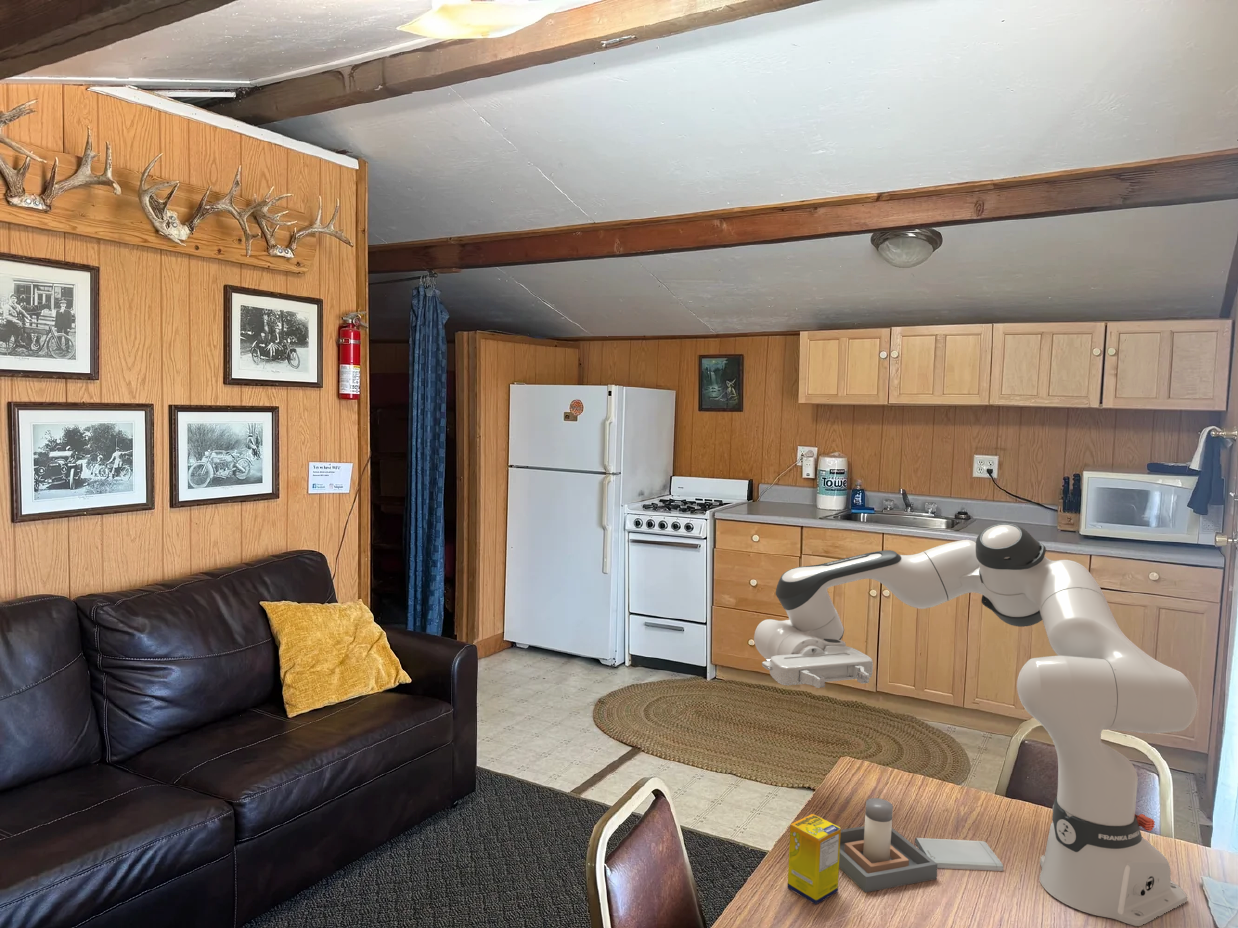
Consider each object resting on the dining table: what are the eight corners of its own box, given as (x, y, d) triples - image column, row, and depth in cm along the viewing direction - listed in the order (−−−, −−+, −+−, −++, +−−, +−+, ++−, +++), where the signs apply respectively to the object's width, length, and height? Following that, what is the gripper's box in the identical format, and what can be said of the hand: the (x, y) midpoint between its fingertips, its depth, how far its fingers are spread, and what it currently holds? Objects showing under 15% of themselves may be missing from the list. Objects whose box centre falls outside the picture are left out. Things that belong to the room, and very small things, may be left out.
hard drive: (930, 861, 143) (1003, 864, 143) (915, 836, 151) (984, 839, 151) (930, 870, 143) (1003, 873, 143) (914, 845, 151) (983, 847, 151)
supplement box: (808, 875, 140) (812, 812, 139) (838, 892, 135) (842, 827, 134) (785, 887, 136) (789, 823, 135) (815, 905, 131) (819, 839, 131)
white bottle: (857, 855, 146) (860, 799, 145) (879, 851, 147) (882, 796, 146) (872, 868, 141) (876, 812, 141) (894, 865, 143) (898, 808, 142)
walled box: (884, 836, 153) (885, 822, 153) (936, 878, 140) (937, 864, 140) (818, 847, 149) (819, 833, 148) (865, 892, 135) (866, 877, 135)
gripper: (758, 646, 163) (795, 668, 150) (848, 639, 169) (891, 660, 156) (756, 677, 163) (793, 703, 150) (846, 669, 170) (889, 693, 157)
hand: (844, 681), depth 153 cm, fingers open, 8 cm apart
